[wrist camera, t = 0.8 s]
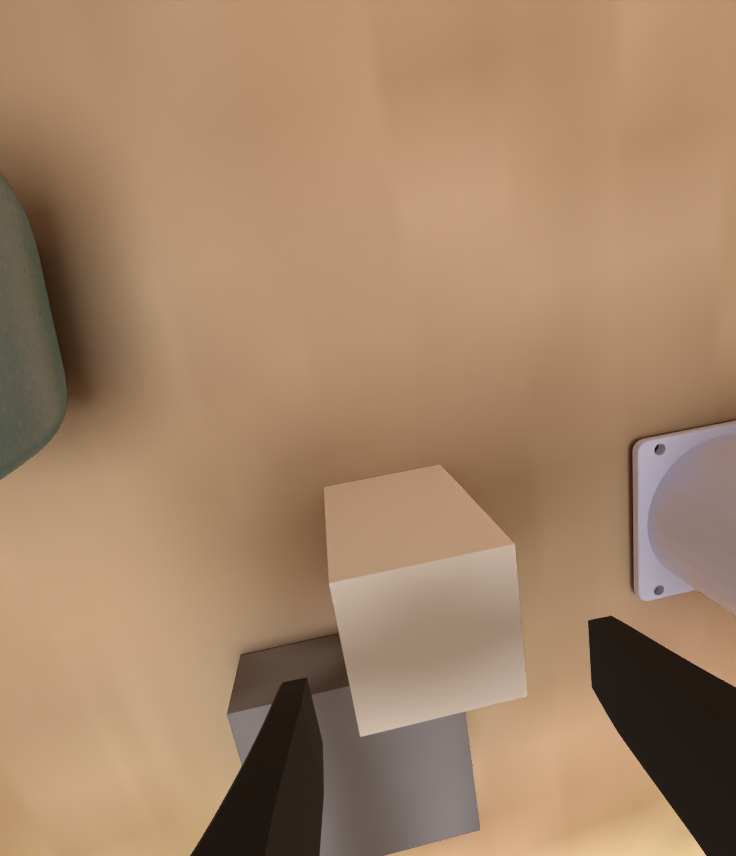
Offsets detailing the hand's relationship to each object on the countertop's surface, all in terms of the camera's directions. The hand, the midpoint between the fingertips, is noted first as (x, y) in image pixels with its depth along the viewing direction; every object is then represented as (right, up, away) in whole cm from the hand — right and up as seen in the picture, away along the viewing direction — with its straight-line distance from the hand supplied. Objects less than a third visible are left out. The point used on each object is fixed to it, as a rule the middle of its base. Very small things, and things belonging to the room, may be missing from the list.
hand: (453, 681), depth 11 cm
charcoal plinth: (-3, -7, +10) cm, 12 cm away
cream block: (-1, +2, +8) cm, 8 cm away
